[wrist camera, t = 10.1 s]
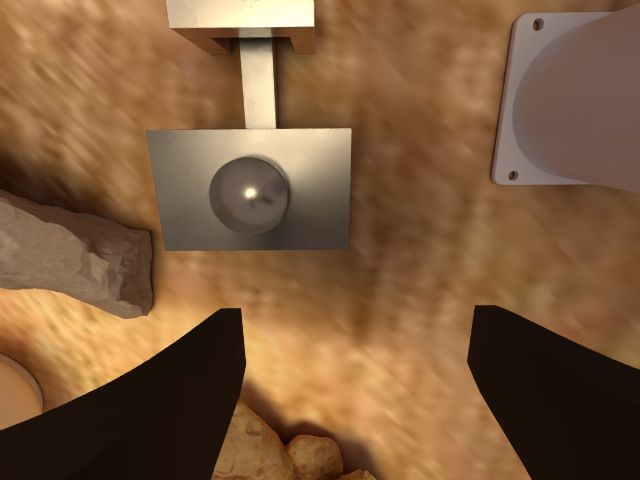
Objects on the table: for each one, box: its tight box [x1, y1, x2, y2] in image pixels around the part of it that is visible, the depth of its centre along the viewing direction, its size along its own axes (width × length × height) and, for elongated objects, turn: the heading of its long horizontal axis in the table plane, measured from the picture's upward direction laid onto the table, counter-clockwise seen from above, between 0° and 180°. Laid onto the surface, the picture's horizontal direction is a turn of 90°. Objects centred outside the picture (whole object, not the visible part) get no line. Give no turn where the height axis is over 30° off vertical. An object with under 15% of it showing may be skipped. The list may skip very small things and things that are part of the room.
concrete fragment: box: [0, 189, 153, 319], centre depth 17 cm, size 7×14×6 cm, turn 55°
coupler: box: [146, 37, 351, 251], centre depth 15 cm, size 8×14×6 cm, turn 1°
